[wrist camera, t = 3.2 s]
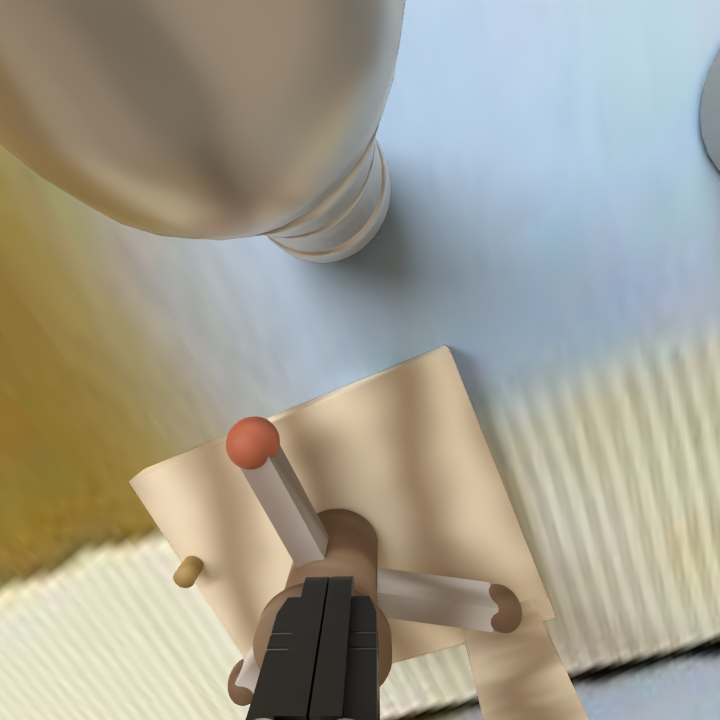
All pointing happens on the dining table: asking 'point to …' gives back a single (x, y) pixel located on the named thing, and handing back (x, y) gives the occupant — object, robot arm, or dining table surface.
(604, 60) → the dining table surface
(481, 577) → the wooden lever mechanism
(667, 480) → the dining table surface
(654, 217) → the dining table surface
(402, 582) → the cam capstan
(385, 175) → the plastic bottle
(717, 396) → the dining table surface
